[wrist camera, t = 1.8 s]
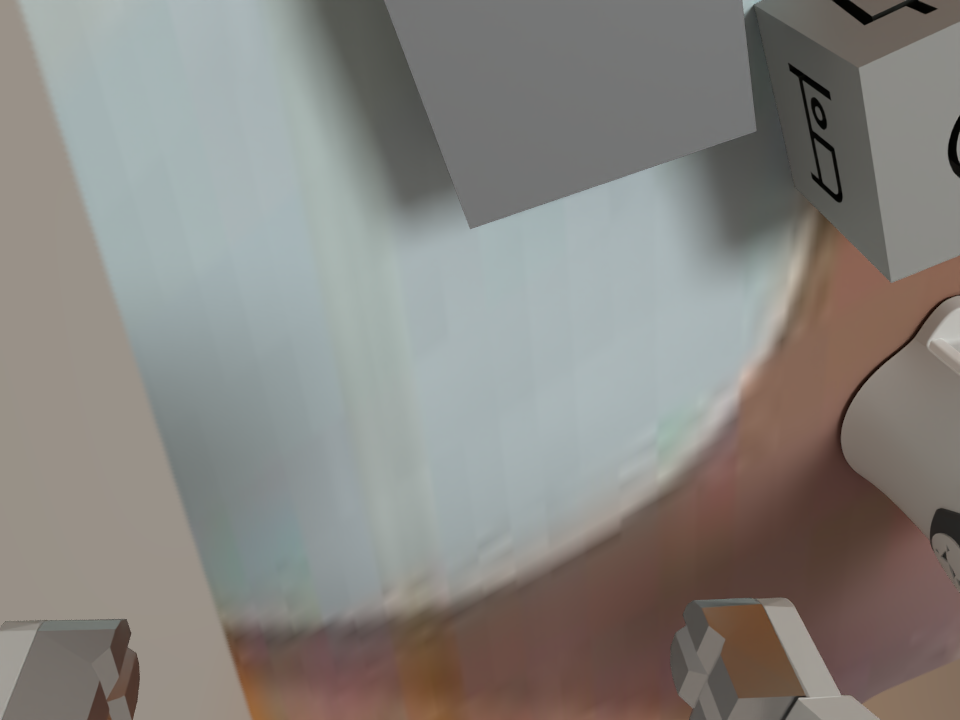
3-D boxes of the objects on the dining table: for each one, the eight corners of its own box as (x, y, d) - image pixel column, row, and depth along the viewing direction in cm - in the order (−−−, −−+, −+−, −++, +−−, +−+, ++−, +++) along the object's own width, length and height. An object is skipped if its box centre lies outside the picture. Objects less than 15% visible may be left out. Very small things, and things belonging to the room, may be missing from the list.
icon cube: (753, 4, 36) (858, 67, 28) (976, -104, 34) (1158, -70, 26) (794, 186, 41) (891, 282, 33) (987, 102, 39) (1138, 183, 31)
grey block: (647, -228, 30) (716, -231, 24) (693, 71, 37) (756, 131, 31) (359, -112, 31) (351, -86, 25) (457, 155, 38) (470, 229, 32)
